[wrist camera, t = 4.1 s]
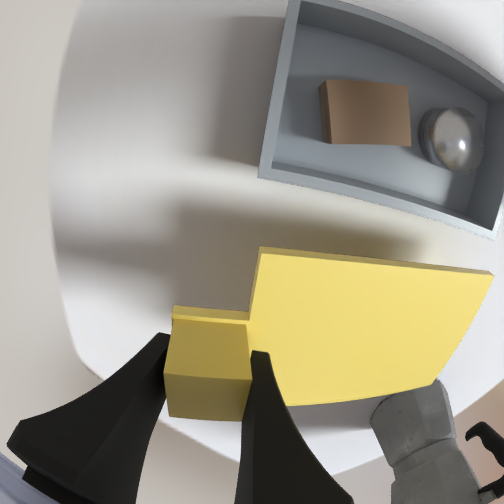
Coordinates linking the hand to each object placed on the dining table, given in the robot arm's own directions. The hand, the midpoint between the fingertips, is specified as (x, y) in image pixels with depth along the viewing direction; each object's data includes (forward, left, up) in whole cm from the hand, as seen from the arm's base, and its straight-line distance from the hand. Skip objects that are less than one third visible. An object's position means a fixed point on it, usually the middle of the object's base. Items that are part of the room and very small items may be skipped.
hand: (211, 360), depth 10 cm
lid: (-6, 0, -3) cm, 7 cm away
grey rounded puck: (-11, -11, -7) cm, 17 cm away
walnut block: (-5, -11, -7) cm, 14 cm away
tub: (-8, -11, -8) cm, 15 cm away
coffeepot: (-21, +12, -8) cm, 25 cm away
